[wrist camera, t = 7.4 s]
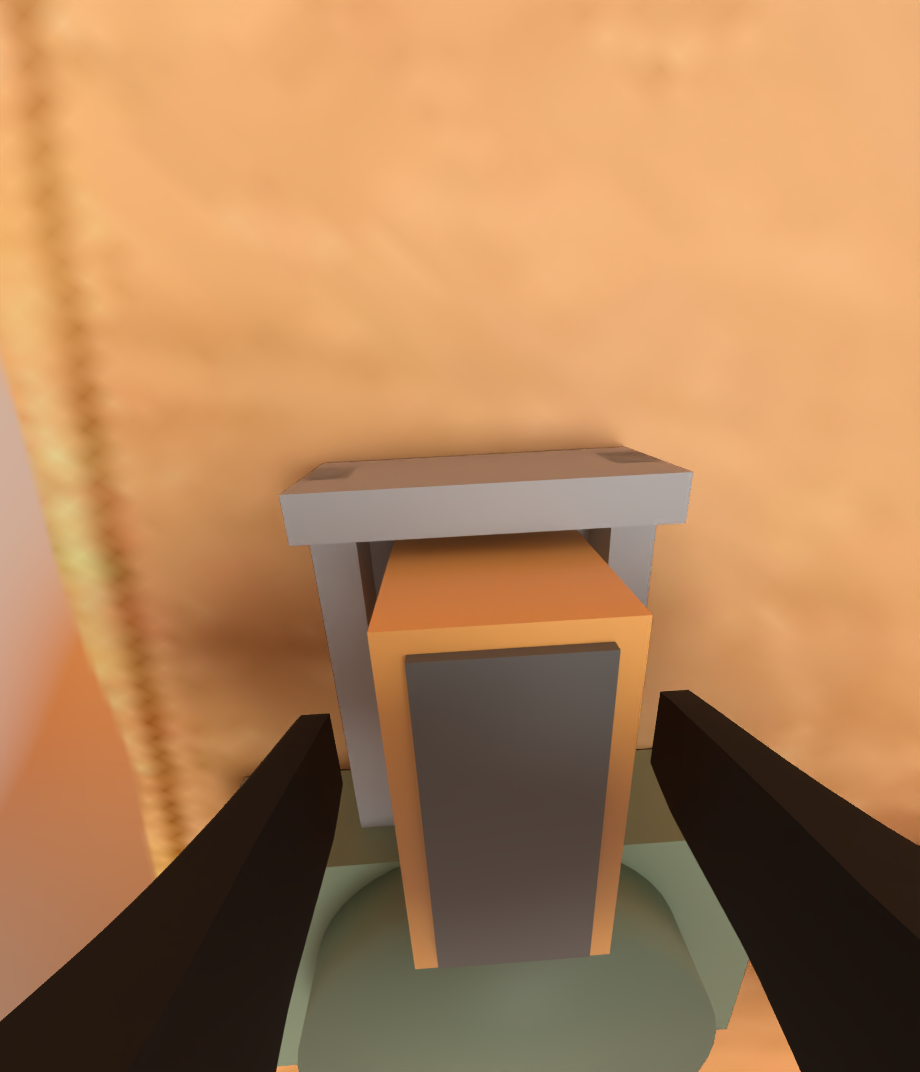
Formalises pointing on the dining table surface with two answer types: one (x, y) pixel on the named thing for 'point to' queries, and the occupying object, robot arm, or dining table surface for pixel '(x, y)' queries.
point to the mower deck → (368, 825)
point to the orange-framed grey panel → (508, 741)
